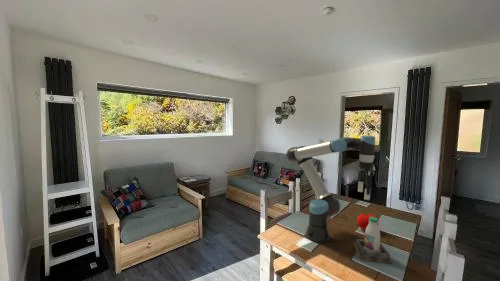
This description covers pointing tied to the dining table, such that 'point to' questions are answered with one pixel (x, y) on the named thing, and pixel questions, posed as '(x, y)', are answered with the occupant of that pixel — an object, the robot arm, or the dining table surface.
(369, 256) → the bottle stand
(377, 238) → the milk bottle
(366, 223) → the tomato
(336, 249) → the dining table surface
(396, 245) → the dining table surface
